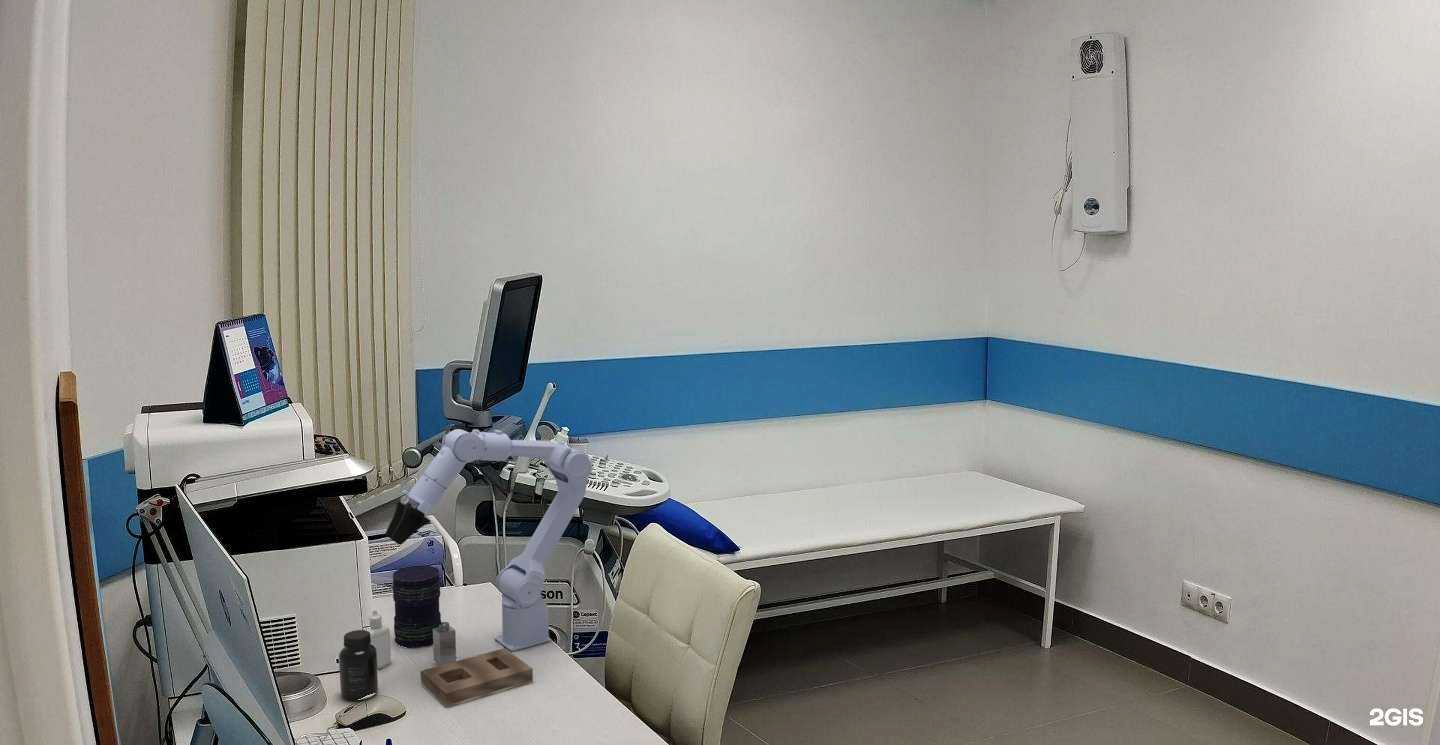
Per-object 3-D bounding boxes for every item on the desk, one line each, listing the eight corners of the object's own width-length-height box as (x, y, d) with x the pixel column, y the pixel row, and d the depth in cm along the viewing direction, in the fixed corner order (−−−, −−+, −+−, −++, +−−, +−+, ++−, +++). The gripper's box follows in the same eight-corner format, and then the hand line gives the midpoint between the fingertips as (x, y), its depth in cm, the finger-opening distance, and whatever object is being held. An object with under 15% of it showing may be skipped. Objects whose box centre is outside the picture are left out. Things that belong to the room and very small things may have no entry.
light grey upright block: (449, 656, 215) (448, 619, 214) (456, 662, 212) (455, 624, 211) (433, 660, 213) (432, 623, 212) (440, 666, 210) (439, 628, 209)
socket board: (504, 660, 213) (504, 648, 213) (532, 681, 204) (532, 668, 204) (421, 684, 202) (420, 670, 202) (446, 707, 193) (446, 693, 193)
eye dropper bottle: (392, 668, 209) (390, 611, 207) (363, 673, 207) (361, 615, 205) (389, 659, 213) (387, 604, 211) (361, 664, 211) (358, 608, 209)
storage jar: (429, 650, 218) (427, 582, 216) (385, 646, 219) (383, 579, 217) (449, 632, 227) (447, 567, 225) (407, 628, 229) (405, 563, 227)
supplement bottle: (385, 689, 200) (383, 630, 198) (362, 704, 194) (360, 644, 192) (356, 683, 202) (354, 625, 200) (332, 698, 196) (330, 638, 194)
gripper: (411, 469, 211) (370, 524, 207) (425, 473, 198) (381, 532, 194) (439, 488, 214) (399, 544, 210) (454, 493, 201) (411, 553, 197)
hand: (392, 540), depth 202 cm, fingers open, 7 cm apart
